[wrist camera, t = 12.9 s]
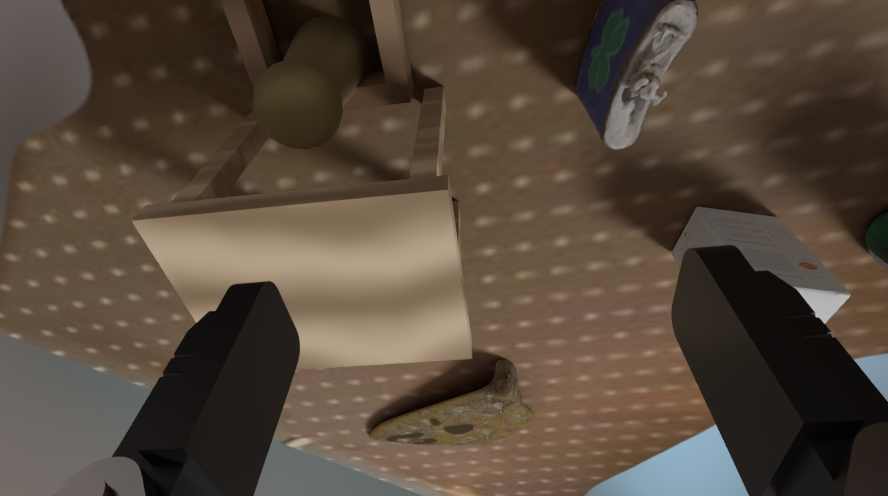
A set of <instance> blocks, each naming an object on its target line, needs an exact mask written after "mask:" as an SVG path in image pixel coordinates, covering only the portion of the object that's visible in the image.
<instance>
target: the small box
mask: <svg viewBox="0 0 888 496" xmlns="http://www.w3.org/2000/svg"><path fill="white" fill-rule="evenodd" d="M722 245H734V246H736V247H737V248H738V249H739V250H740V251H741V253H742V254H743V255H744V257H745V258H746V259H747V261H748V262H749V263H750V265H751V266H752V267H753V269H754V270H755V271H765V270H768V271H770V272H771V273H773V274H774V275H776V276H777V277H779V278H780V279H782V280H783V281H785V282H786V283H788V284H789V285H791V286H792V287H794V288H795V289H797V291H798V292H799V293H800V294H801V295H802V297H803V298H804V299H805V300H806V302H807V303H808V304H809V305H810V307H811V308H812V309H813V310H814V312H815V316H816V318H817V317H819V318H820V319H821V320H822V321H823V323H824V324H825V323H826V322H827V321H828V320H829V319H830V317H831V316H832V315H833V314H834V313H835V312H836V311H837V310H838V309H839V308H840V307H841V305H842V304H843V303H844V302H845V301H846V300H847V299H848V298H849V297H850V295H851V294H850V292H849V291H848V290H847V289H846V288H845V287H844V286H843V285H842V284H841V283H840V282H839V280H838V279H837V278H836V277H835V276H834V275H833V274H832V273H831V272H830V271H829V270H828V269H827V268H826V267H825V266H824V265H823V264H822V263H821V262H820V261H819V260H818V258H817V257H816V256H815V255H814V254H813V253H812V252H811V251H810V250H809V249H808V248H807V247H806V246H805V245H804V244H803V243H802V242H801V241H800V240H799V239H798V238H797V237H796V236H795V235H794V233H793V232H792V231H791V230H790V229H789V228H788V227H787V226H786V225H785V224H784V223H783V222H782V221H781V220H780V219H779V218H778V217H773V216H765V215H758V214H750V213H743V212H735V211H728V210H720V209H712V208H705V207H696V208H695V210H694V212H693V214H692V216H691V218H690V219H689V221H688V223H687V225H686V227H685V229H684V230H683V232H682V234H681V236H680V238H679V240H678V242H677V243H676V245H675V247H674V249H673V251H672V255H673V257H674V259H675V260H676V262H677V264H678V266H679V267H680V268H681V264H682V259H683V256H684V253H685V251H686V250H687V249H689V248H697V247H710V246H722Z"/></svg>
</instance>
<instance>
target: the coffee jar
mask: <svg viewBox="0 0 888 496" xmlns="http://www.w3.org/2000/svg"><path fill="white" fill-rule="evenodd" d="M865 242H866V246H867V248H868V250H869V252H870V253H871V255H872V256H873V257H874V258H875V259H876V260H877V261H878V262H879V263H880V264H881V265H882V266H883V267H884V268H886V269H887V270H888V210H887V211H886V212H884V213H883V214H881V215H880V216H878V217H877V218H876V219H875V220H874V221H873V222H872V223H871V224H870V225H869V228H868V230H867V232H866V235H865Z"/></svg>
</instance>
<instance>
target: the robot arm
mask: <svg viewBox="0 0 888 496" xmlns="http://www.w3.org/2000/svg"><path fill="white" fill-rule="evenodd" d="M672 325H673V330H674V333H675V336H676V339H677V341H678V343H679V346H680V348H681V350H682V352H683V354H684V356H685V358H686V361H687V363H688V365H689V367H690V369H691V371H692V374H693V376H694V378H695V380H696V382H697V384H698V386H699V389H700V391H701V393H702V395H703V397H704V399H705V402H706V404H707V406H708V408H709V410H710V412H711V414H712V417H713V419H714V421H715V423H716V425H717V427H718V429H719V431H720V434H721V436H722V438H723V440H724V442H725V444H726V447H727V449H728V451H729V453H730V455H731V458H732V459H733V462H734V464H735V466H736V468H737V470H738V473H739V475H740V477H741V479H742V481H743V483H744V485H745V488H746V490H747V492H748V494H749V496H888V402H887V400H886V399H885V398H884V397H883V396H882V394H881V393H880V392H879V391H878V389H877V388H876V387H875V386H874V384H873V383H872V382H871V381H870V380H869V378H868V377H867V376H866V374H865V373H864V372H863V371H862V370H861V369H860V367H859V366H858V365H857V363H856V362H855V361H854V360H853V358H852V357H851V356H850V355H849V353H848V352H847V351H846V350H845V349H844V347H843V346H842V345H841V344H840V342H839V341H838V340H837V339H836V338H832V336H831V331H830V330H829V329H828V328H827V326H826V325H825V324H824V323H823V321H822V320H821V319H820V318H819V317H817V318H816V316H815V312H814V310H813V309H812V308H811V307H810V305H809V304H808V303H807V302H806V300H805V299H804V298H803V297H802V295H801V294H800V293H799V292H798V291H797V289H795V288H794V287H792V286H791V285H789V284H788V283H786V282H785V281H783V280H782V279H780V278H779V277H777V276H776V275H774V274H773V273H771V272H770V271H768V270H765V271H755V270H754V269H753V267H752V266H751V265H750V263H749V262H748V261H747V259H746V258H745V257H744V255H743V254H742V253H741V251H740V250H739V249H738V248H737V247H736V246H734V245H722V246H710V247H697V248H689V249H687V250H686V251H685V253H684V256H683V259H682V264H681V268H680V273H679V277H678V282H677V286H676V291H675V295H674V300H673V304H672ZM174 355H175V357H174V358H171V360H170V361H169V363H168V365H167V366H166V368H165V370H164V371H163V377H160V378H159V380H158V381H157V383H156V385H155V386H154V388H153V390H152V391H151V393H150V395H149V396H148V398H147V400H146V401H145V403H144V405H143V406H142V408H141V410H140V411H139V413H138V415H137V417H136V418H135V420H134V421H133V423H132V425H131V426H130V428H129V430H128V432H127V433H126V435H125V437H124V438H123V440H122V441H121V443H120V445H119V447H118V448H117V450H116V451H115V453H114V454H113V456H112V457H111V458H106V459H103V460H100V461H97V462H95V463H93V464H91V465H89V466H87V467H85V468H84V469H82V470H80V471H79V472H77V473H76V474H75V475H74V476H72V477H71V478H69V479H68V480H67V481H66V482H65V483H64V484H63V485H62V486H61V487H60V488H59V489H58V490H57V491H56V492H55V493H54V495H53V496H253V495H254V492H255V489H256V486H257V483H258V480H259V477H260V474H261V471H262V468H263V465H264V462H265V459H266V456H267V453H268V451H269V447H270V444H271V442H272V439H273V436H274V433H275V430H276V427H277V424H278V421H279V418H280V415H281V412H282V409H283V406H284V403H285V400H286V397H287V394H288V391H289V388H290V385H291V382H292V379H293V376H294V373H295V370H296V367H297V364H298V360H299V356H300V340H299V335H298V332H297V329H296V327H295V325H294V323H293V321H292V318H291V316H290V314H289V312H288V310H287V307H286V305H285V303H284V301H283V299H282V297H281V294H280V292H279V290H278V288H277V286H276V285H275V284H274V283H273V282H271V281H264V282H252V283H240V284H233V285H231V286H230V287H229V288H228V290H227V291H226V293H225V295H224V297H223V299H222V300H221V302H220V304H219V306H218V307H217V309H216V311H209V312H208V313H206V314H205V315H204V316H203V317H202V318H201V319H200V320H199V321H198V322H197V323H196V324H195V325H194V326H193V327H192V328H191V329H189V330H188V331H187V333H186V335H185V336H184V338H183V340H182V341H181V343H180V345H179V346H178V348H177V350H176V351H175V353H174Z"/></svg>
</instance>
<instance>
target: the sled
mask: <svg viewBox="0 0 888 496" xmlns="http://www.w3.org/2000/svg"><path fill="white" fill-rule="evenodd" d="M220 1H221V4H222V6H223V9H224V12H225V14H226V17H227V20H228V22H229V25H230V28H231V30H232V33H233V36H234V38H235V41H236V44H237V46H238V49H239V52H240V54H241V57H242V60H243V62H244V65H245V68H246V70H247V73H248V76H249V78H250V81H251V84H252V86H253V89H254V88H255V85H256V83H257V81H258V79H259V77H260V75H261V74H262V73H263V72H265V71H266V70H267V69H268V68H269V67H271V66H272V65H273V64H275V63H278V62H281V61H282V60H281V57H280V54H279V51H278V48H277V45H276V41H275V38H274V35H273V32H272V29H271V26H270V23H269V20H268V17H267V14H266V11H265V8H264V5H263V2H262V0H220ZM369 3H370V8H371V13H372V18H373V22H374V27H375V32H376V37H377V42H378V47H379V52H380V57H381V62H382V67H383V71H380V72H372V73H368V74H367V75H366V76H365V78H364V79H363V80H362V81H361V82H360V83H359V85H358V86H357V87H356V90H355V93H354V94H353V96H352V97H351V99H350V100H349V101H348V102H347V103H346V104H345V105H344V106H343V110H347V109H356V108H364V107H373V106H381V105H390V104H398V103H407V102H411V98H412V94H413V89H414V85H413V79H412V74H411V68H410V62H409V56H408V50H407V44H406V38H405V32H404V26H403V20H402V14H401V8H400V2H399V0H369Z"/></svg>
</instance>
